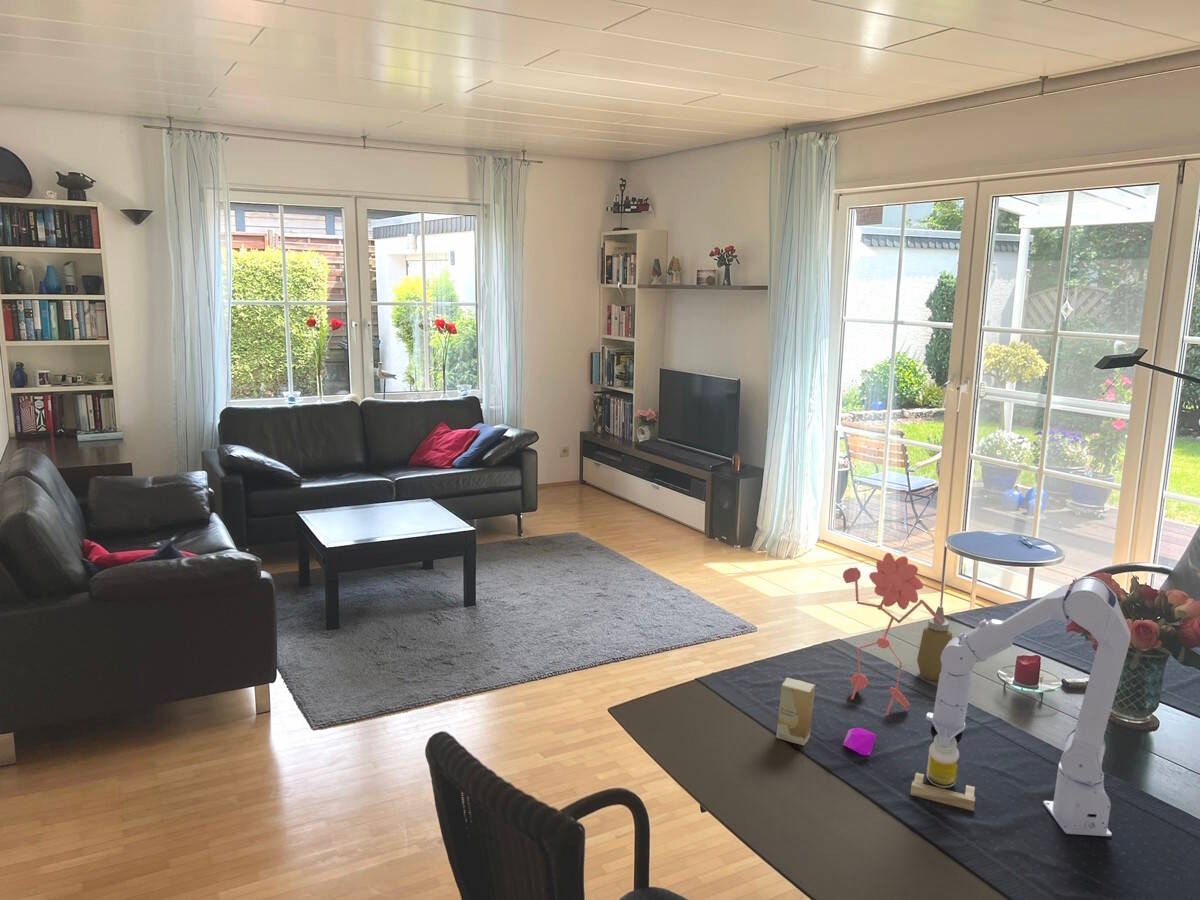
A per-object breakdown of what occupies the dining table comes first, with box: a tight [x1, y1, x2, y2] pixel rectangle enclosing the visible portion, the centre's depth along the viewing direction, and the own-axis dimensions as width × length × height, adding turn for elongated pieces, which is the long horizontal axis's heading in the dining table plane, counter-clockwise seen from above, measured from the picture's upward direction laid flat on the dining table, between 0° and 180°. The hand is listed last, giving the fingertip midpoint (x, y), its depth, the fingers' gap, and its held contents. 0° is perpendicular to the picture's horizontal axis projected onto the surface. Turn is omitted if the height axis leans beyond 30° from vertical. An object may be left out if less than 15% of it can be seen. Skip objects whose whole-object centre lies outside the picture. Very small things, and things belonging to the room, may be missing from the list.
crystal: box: [842, 727, 877, 757], centre depth 180 cm, size 5×5×5 cm
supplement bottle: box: [926, 734, 960, 789], centre depth 168 cm, size 5×5×10 cm
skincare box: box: [776, 677, 816, 746], centre depth 184 cm, size 6×4×12 cm
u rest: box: [910, 772, 976, 812], centre depth 165 cm, size 5×11×2 cm, turn 64°
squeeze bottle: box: [916, 605, 953, 682], centre depth 214 cm, size 8×8×18 cm
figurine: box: [842, 552, 943, 727], centre depth 200 cm, size 15×26×35 cm, turn 40°
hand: (941, 762), depth 172 cm, fingers closed, pressing on supplement bottle
